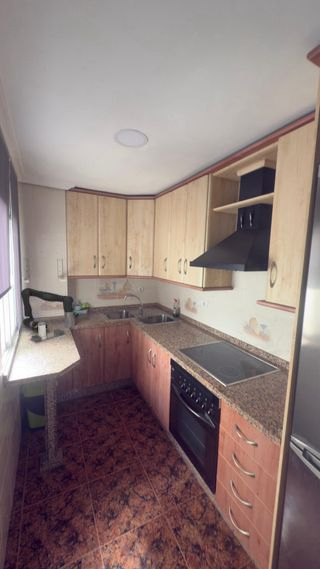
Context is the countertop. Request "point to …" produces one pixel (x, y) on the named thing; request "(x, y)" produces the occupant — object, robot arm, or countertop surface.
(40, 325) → the grey module
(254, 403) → the countertop surface
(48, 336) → the mounting plate
